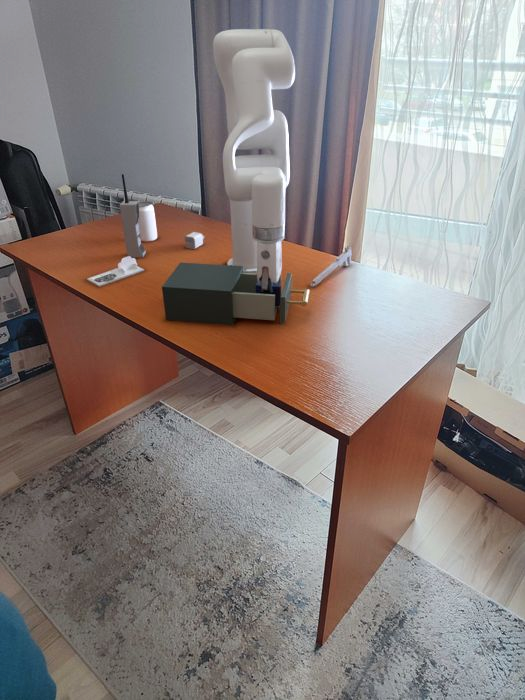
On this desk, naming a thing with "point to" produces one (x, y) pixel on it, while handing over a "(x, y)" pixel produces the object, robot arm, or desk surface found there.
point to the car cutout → (117, 272)
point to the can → (147, 221)
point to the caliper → (334, 265)
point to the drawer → (263, 299)
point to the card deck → (275, 288)
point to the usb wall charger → (194, 240)
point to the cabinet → (201, 293)
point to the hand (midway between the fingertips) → (268, 302)
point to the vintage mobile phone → (131, 226)
